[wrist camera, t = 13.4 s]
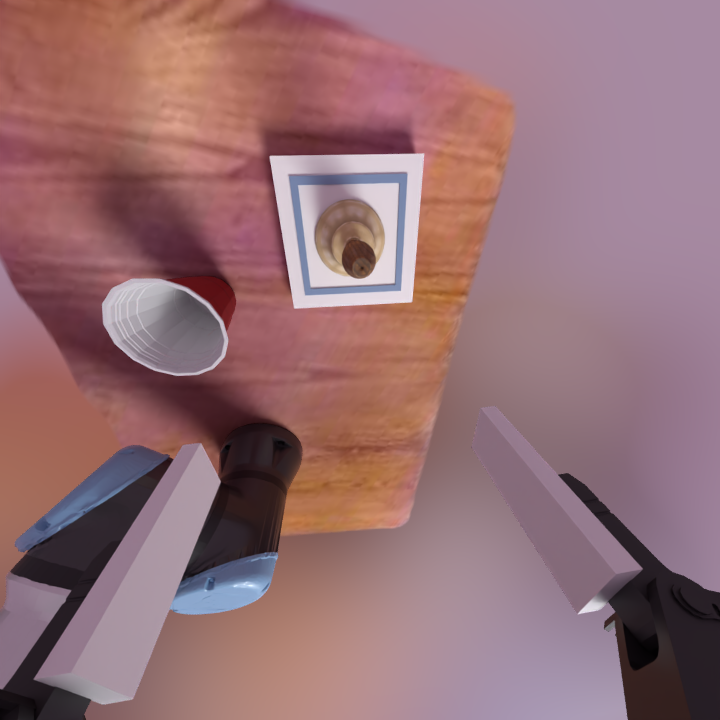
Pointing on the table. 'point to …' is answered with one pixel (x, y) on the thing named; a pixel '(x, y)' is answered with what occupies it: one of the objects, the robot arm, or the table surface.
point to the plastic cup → (171, 322)
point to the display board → (340, 182)
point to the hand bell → (350, 238)
